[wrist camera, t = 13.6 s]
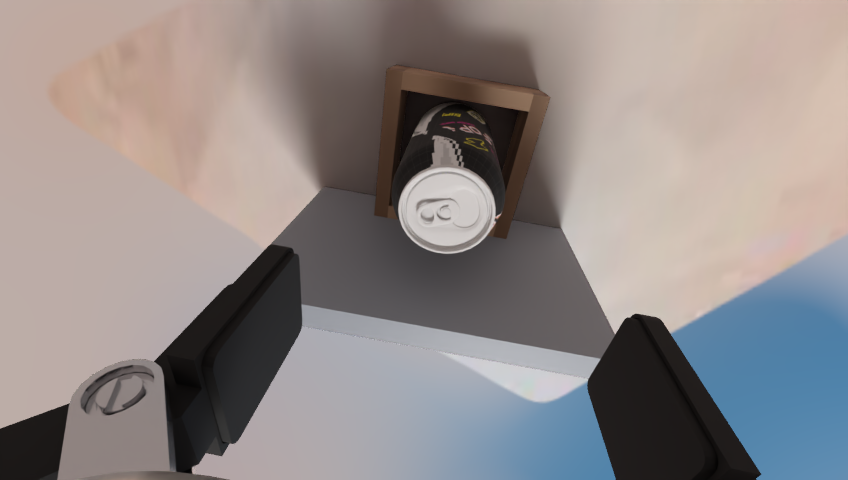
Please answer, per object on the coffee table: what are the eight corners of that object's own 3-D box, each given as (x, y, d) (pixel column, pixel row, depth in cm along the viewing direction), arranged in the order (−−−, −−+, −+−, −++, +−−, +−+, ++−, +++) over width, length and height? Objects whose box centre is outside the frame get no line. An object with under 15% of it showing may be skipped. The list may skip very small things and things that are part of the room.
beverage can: (406, 108, 26) (370, 164, 15) (486, 93, 25) (504, 142, 14) (422, 181, 28) (400, 270, 18) (494, 170, 27) (513, 258, 17)
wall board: (561, 228, 29) (629, 364, 17) (555, 244, 30) (616, 383, 18) (324, 186, 29) (227, 290, 17) (324, 202, 30) (231, 313, 18)
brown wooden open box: (539, 89, 24) (550, 97, 21) (502, 218, 29) (506, 239, 26) (396, 64, 24) (386, 68, 21) (383, 197, 29) (374, 215, 26)
